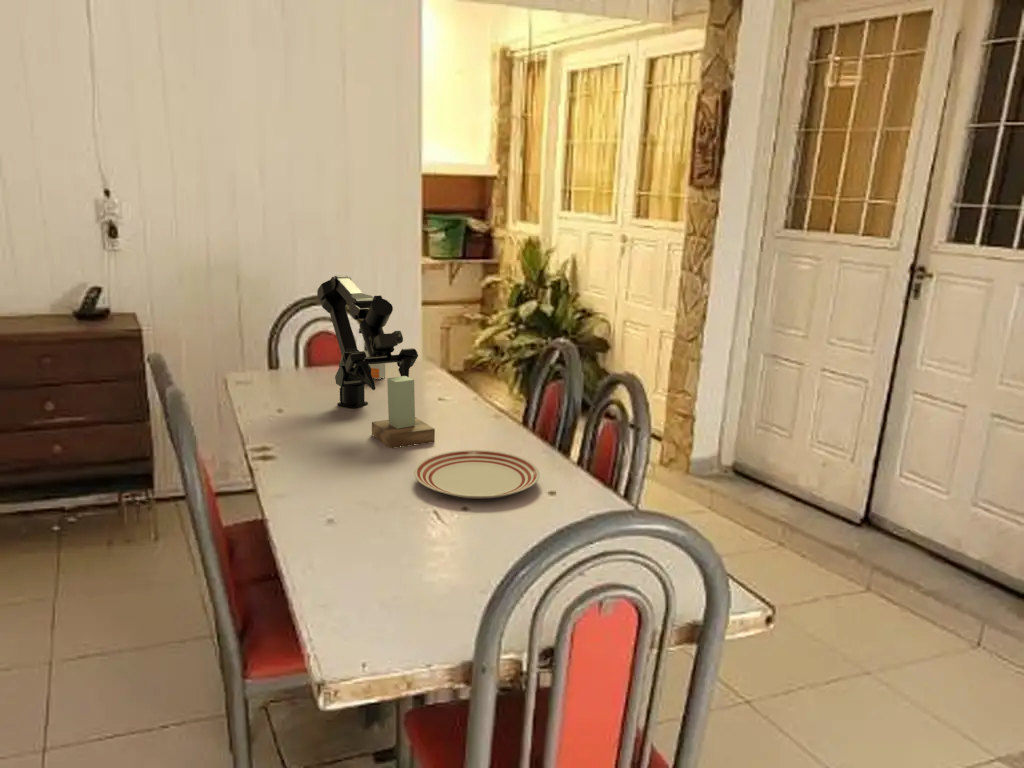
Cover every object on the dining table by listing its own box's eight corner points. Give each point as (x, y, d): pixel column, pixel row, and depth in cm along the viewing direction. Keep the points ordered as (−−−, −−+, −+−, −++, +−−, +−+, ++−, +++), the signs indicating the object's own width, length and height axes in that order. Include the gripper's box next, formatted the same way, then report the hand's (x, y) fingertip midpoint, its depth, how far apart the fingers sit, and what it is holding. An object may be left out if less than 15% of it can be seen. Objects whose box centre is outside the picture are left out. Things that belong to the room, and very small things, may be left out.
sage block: (406, 421, 211) (405, 375, 208) (415, 425, 207) (414, 379, 204) (388, 423, 209) (387, 378, 206) (397, 428, 205) (395, 382, 202)
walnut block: (371, 436, 211) (371, 421, 210) (414, 431, 217) (414, 416, 216) (390, 450, 201) (390, 434, 200) (434, 443, 207) (434, 428, 206)
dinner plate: (526, 514, 165) (527, 499, 164) (396, 499, 170) (397, 484, 169) (548, 470, 191) (548, 456, 190) (435, 458, 196) (435, 444, 195)
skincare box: (363, 378, 269) (363, 342, 266) (369, 375, 273) (369, 340, 270) (380, 380, 267) (380, 344, 264) (386, 377, 271) (386, 342, 268)
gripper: (348, 322, 208) (365, 374, 201) (415, 318, 217) (433, 367, 211) (338, 346, 216) (353, 397, 210) (403, 342, 226) (419, 390, 219)
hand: (391, 387), depth 212 cm, fingers open, 9 cm apart
